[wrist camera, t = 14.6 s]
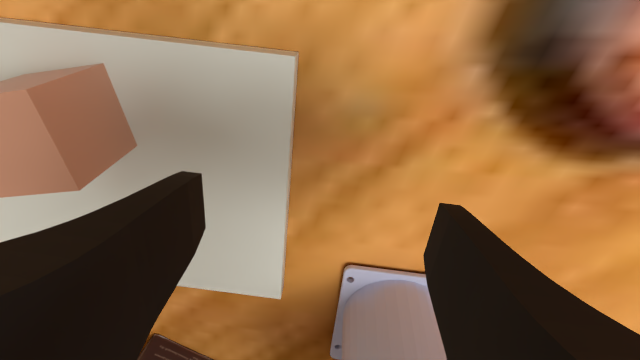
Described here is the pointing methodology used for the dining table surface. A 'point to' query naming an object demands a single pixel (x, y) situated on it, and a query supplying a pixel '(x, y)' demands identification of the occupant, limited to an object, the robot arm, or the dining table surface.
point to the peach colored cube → (59, 130)
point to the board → (180, 140)
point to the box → (168, 351)
